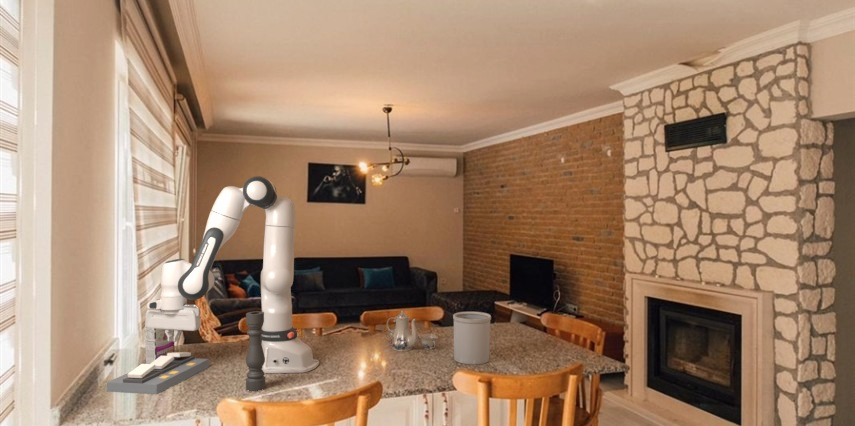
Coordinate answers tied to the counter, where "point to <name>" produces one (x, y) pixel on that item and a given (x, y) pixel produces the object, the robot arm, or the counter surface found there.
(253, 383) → the candle holder
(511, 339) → the counter surface
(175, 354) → the switch
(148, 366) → the switch
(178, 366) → the switch board
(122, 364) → the counter surface
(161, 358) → the switch
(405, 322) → the chinaware
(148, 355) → the candy bar box
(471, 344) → the utensil holder
